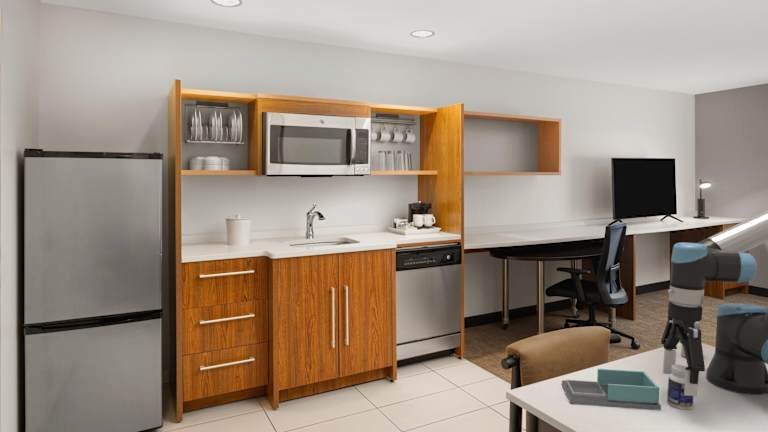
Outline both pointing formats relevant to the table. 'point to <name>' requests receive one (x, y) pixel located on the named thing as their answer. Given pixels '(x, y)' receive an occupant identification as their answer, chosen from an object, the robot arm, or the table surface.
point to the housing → (629, 385)
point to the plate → (598, 395)
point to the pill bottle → (678, 388)
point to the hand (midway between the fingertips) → (679, 383)
